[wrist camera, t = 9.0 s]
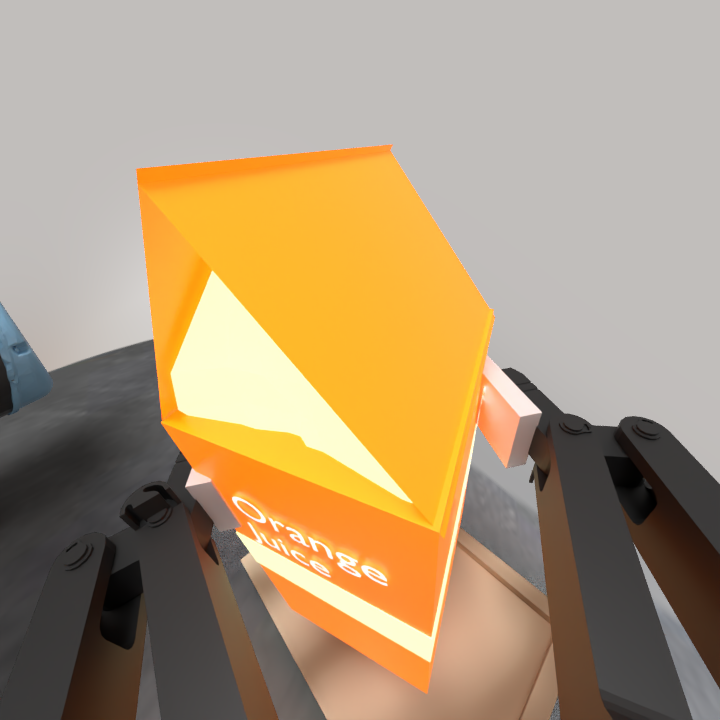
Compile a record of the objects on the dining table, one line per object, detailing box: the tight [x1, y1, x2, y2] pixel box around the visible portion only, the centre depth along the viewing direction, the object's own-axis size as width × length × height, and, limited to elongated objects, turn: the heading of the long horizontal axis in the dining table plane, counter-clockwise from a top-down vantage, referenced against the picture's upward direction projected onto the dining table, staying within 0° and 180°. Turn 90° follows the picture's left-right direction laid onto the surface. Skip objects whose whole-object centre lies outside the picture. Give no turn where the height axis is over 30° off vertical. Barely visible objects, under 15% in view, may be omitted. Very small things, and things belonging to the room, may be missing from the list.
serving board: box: [241, 528, 558, 720], centre depth 22 cm, size 20×14×2 cm
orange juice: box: [137, 145, 495, 694], centre depth 12 cm, size 8×9×20 cm
